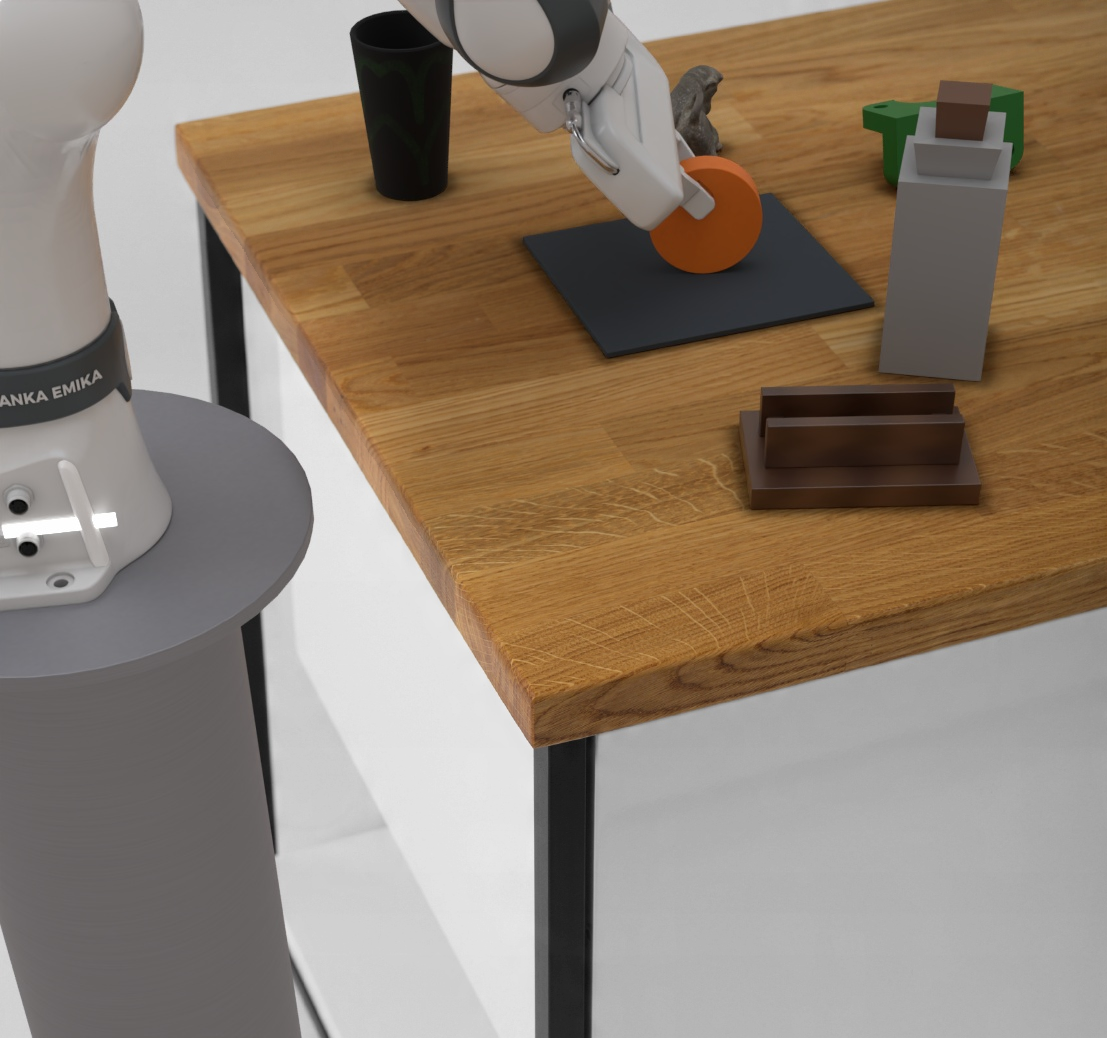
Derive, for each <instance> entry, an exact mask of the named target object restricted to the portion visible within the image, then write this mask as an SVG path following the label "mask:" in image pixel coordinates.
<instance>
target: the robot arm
mask: <svg viewBox="0 0 1107 1038" xmlns="http://www.w3.org/2000/svg"><path fill="white" fill-rule="evenodd" d="M397 1H398V3H399V4H400V5H401V6H402V7H403V8H404V10H407V11H408V12H409V13H410V14H411V15H412V16H413V17H414V18H415V19H416V20H417V21H418V22H419V23H421V24H422V25H423V26H424V27H425V28H426V29H427V30H428V31H429V32H430V33H431V34H432V35H433V36H435V37H436V38H437V39H438V40H439V41H440V42H442V43H443V44H444V45H446V46H448V47H450V48H452V49H453V51H454V50H455V51H456V52H457V53H458V54H459V56H460V57H461V58H462V59H463V60H464V61H465V62H466V63H467V64H468V65H470V66H471V67H472V68H473V69H474V70H475V71H477V73H478V74H479V75H480V77H481V79H482V80H483V82H484V83H485V84H486V85H487V86H488V87H489V88H490V89H491V90H492V91H493V92H494V93H495V94H497V95H498V96H499V97H500V98H501V99H502V100H503V101H504V102H505V103H506V104H507V105H509V107H510V108H512V109H513V110H514V111H515V112H516V113H517V114H519V115H520V116H521V117H522V118H523V120H525V121H526V122H527V123H528V124H529V125H530V126H532V128H534V130H535V131H537V132H538V133H540V134H550V133H552V132H555V131H558V130H559V129H561V128H562V130H563V131H565V132H566V133H567V134H568V135H569V143H570V146H569V147H570V153H571V156H572V158H573V160H574V162H575V164H576V165H577V167H578V168H579V169H580V171H581V172H582V173H583V174H584V175H585V177H586V178H587V179H588V181H590V182H591V183H592V184H593V185H594V186H595V188H597V189H598V190H599V192H600V193H601V194H602V195H603V196H604V197H605V198H606V199H607V200H608V201H609V202H610V204H612V205H613V206H614V207H615V208H616V209H617V210H618V211H619V212H620V213H621V214H622V215H623V216H624V217H625V218H627V219H628V220H630V221H631V222H632V223H633V224H634V225H635V226H637V227H639V228H641V229H643V230H646V231H652V230H653V229H655V228H656V227H657V226H658V225H659V224H660V223H662V222H663V221H664V220H665V219H666V218H667V217H668V216H669V215H670V214H671V213H672V212H673V211H674V210H675V209H676V208H677V207H678V206H681V207H683V208H684V209H685V210H686V211H687V212H688V213H689V214H691V215H692V216H693V217H694V218H695V219H697V220H700V219H703V218H704V217H705V216H706V215H708V214H709V213H710V212H711V211H712V210H713V209H714V207H715V202H714V197H713V193H712V192H711V191H710V190H709V189H708V188H707V187H706V186H705V185H704V184H703V183H702V182H701V181H700V180H698V181H697V182H696V181H695V180H694V179H692V178H691V177H690V176H689V175H687V174H686V173H685V171H684V168H683V167H682V166H681V165H680V163H679V162H681V161H683V160H686V159H689V158H692V157H695V155H694V154H693V152H692V151H691V149H690V148H689V146H688V145H687V143H686V142H685V140H684V139H683V138H682V136H681V135H680V133H679V132H678V131H677V130H676V129H675V126H674V118H673V111H672V103H671V96H670V94H671V89H670V81H669V78H668V76H667V74H666V73H665V71H664V69H663V68H662V67H661V65H660V64H659V62H658V61H657V59H656V58H655V57H654V56H653V55H652V54H651V52H650V51H649V50H648V49H647V47H646V46H645V45H644V44H643V43H642V42H641V40H639V39H638V37H637V36H636V35H635V34H634V33H633V32H632V30H630V28H629V27H628V26H627V25H626V24H625V22H623V21H622V20H621V19H620V18H619V17H618V16H617V15H616V14H615V13H614V10H613V4H612V0H397ZM144 27H145V25H144V19H143V14H142V10H141V6H140V2H139V0H0V612H1V611H11V610H22V609H32V608H42V607H53V606H63V605H73V604H82V603H87V602H90V601H93V600H95V599H96V598H98V597H99V596H100V595H101V594H102V593H103V592H104V591H105V590H106V588H107V587H108V586H109V584H110V583H111V581H112V580H113V578H114V577H115V575H116V574H117V573H118V572H119V571H120V570H121V569H123V568H124V567H125V566H127V565H128V564H130V563H131V562H133V561H134V560H136V559H137V558H139V557H140V556H142V555H143V554H144V553H146V552H147V551H148V550H149V549H150V548H151V547H152V546H153V545H155V544H156V542H157V541H158V540H159V539H160V538H161V537H162V535H163V534H164V532H165V531H166V529H167V527H168V525H169V523H170V520H171V516H172V501H171V497H170V495H169V492H168V491H167V489H166V487H165V485H164V484H163V482H162V480H161V478H160V476H159V474H158V472H157V470H156V469H155V466H154V464H153V462H152V459H151V457H150V455H149V452H148V450H147V447H146V444H145V442H144V439H143V436H142V434H141V431H140V428H139V425H138V422H137V418H136V415H135V412H134V409H133V406H132V402H131V397H132V389H133V386H132V381H133V373H132V366H131V360H130V354H129V349H128V344H127V343H128V342H127V338H126V334H125V333H126V332H125V328H124V324H123V321H122V319H121V318H120V315H119V313H118V310H117V308H116V307H117V306H116V304H115V302H114V300H113V299H112V298H111V297H110V296H109V291H108V286H107V280H106V273H105V267H104V262H103V256H102V250H101V242H100V236H99V230H98V229H99V228H98V224H97V217H96V211H95V210H96V209H95V199H94V198H95V197H94V172H95V171H94V169H95V159H96V151H97V147H98V146H97V145H98V140H99V136H100V132H101V130H102V129H103V127H105V126H106V125H107V124H108V123H109V122H111V121H112V120H113V119H114V118H115V116H117V114H118V113H119V112H120V110H121V109H122V108H123V107H124V105H125V103H126V102H127V101H128V100H129V98H130V96H131V94H132V92H133V90H134V88H135V85H136V83H137V81H138V78H139V75H140V71H141V67H142V64H143V57H144V51H145V28H144Z"/></svg>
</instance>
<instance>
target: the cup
mask: <svg viewBox="0 0 1107 1038" xmlns="http://www.w3.org/2000/svg"><path fill="white" fill-rule="evenodd" d="M348 35H349V40H350V46H351V50H352V56H353V57H352V58H353V61H354V62H353V63H354V67H355V73H356V78H357V79H356V80H357V85H358V92H359V97H360V103H361V109H362V114H363V120H364V125H365V130H366V131H365V132H366V137H367V143H368V148H369V154H370V160H371V165H372V166H371V167H372V172H373V177H374V185H375V188H376V190H377V192H378V193H379V194H380V195H382V196H384V197H386V198H389V199H393V200H397V201H420V200H426V199H430V198H433V197H435V196H438V195H440V194H441V193H443V191H445V189H446V188H447V187H448V180H449V158H450V157H449V156H450V137H451V136H450V135H451V133H450V132H451V113H452V112H451V111H452V110H451V109H452V108H451V107H452V91H453V89H452V86H453V68H454V67H453V64H454V63H453V62H454V49H452V48H450V47H448V46H446V45H444V44H443V43H442V42H440V41H439V40H438V39H437V38H436V37H435V36H433V35H432V34H431V33H430V32H429V31H428V30H427V29H426V28H425V27H424V26H423V25H422V24H421V23H419V22H418V21H417V20H416V19H415V18H414V17H413V16H412V15H411V14H410V13H409V12H408V11H407V10H406V9H395V10H387V11H381V12H378V13H377V12H376V13H374V14H370V15H368V16H365V17H363V18H361V19H360V20H358V21H356V22H355V23H354V25H353V26H352V27H351V28H350V31H349V34H348Z"/></svg>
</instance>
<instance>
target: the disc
mask: <svg viewBox="0 0 1107 1038" xmlns="http://www.w3.org/2000/svg"><path fill="white" fill-rule="evenodd" d="M679 163H680V165H681V166H682V167H683V168H684V171H685V173H686V174H687V175H689V176H690V177H691V178H692V179H694V180H695V181H696V182H697V181H698V180H700V181H701V182H702V183H703V184H704V185H705V186H706V187H707V188H708V189H709V190H710V191H711V192H712V193H713V197H714V202H715V207H714V209H713V210H712V211H711V212H710V213H709V214H708V215H706V216H705V217H704V218H703V219H700V220H697V219H695V218H694V217H693V216H692V215H691V214H689V213H688V212H687V211H686V210H685V209H684V208H683V207H681V206H678V207H677V208H676V209H675V210H674V211H673V212H672V213H671V214H670V215H669V216H668V217H667V218H666V219H665V220H664V221H663V222H662V223H660V224H659V225H658V226H657V227H656V228H655V229H653V230H652V231H649V232H650V237H651V239H652V242H653V244H654V246H655V248H656V250H657V251H658V253H659V254H660V255H661V256H662V257H663V258H664V259H665V260H666V261H667V262H668V263H670V264H671V265H673V266H675V267H676V268H679V269H681V270H684V271H687V272H691V273H700V274H705V273H714V272H718V271H721V270H725V269H727V268H729V267H731V266H733V265H735V264H736V263H738V262H739V261H740V260H742V259H743V258H744V257H745V256H746V255H747V254H748V253H749V252H750V250H751V249H752V248H753V247H754V245H755V243H756V241H757V239H758V237H759V235H760V231H761V227H762V208H761V202H760V197H759V195H760V193H759V190H758V187H757V185H756V183H755V180H754V179H753V177H752V176H751V175H750V174H749V173H748V172H747V171H746V169H744V168H743V167H742V166H741V165H739V164H738V163H736V162H734V161H732V160H730V159H728V158H725V157H721V156H718V157H717V156H697V157H692V158H689V159H686V160H683V161H681V162H679Z"/></svg>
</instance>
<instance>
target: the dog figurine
mask: <svg viewBox="0 0 1107 1038" xmlns="http://www.w3.org/2000/svg"><path fill="white" fill-rule="evenodd" d="M723 80H724V75H723V73H721V72H719V71H718V69H717V68H715V67H713V66H710V65H705V64H700V65H696V66H693V67H691V68H690V69H688V70H687V71H686V72H685V73H683V75H682V76H681V77H680V78H679V82H678V83H677V84H676V85H675V86H674V88H673V89H672V91H670V96H671V103H672V111H673V118H674V126H675V129H676V130H677V131H678V132H679V133H680V135H681V136H682V138H683V139H684V140H685V142H686V143H687V145H688V146H689V148H690V149H691V151H692V152H693V154H694V155H695V157H697V156H717V157H719V156H718V153H717V151H720V150H721V149H722V148H723V144H722V143H721V142H720V139H719V138H720V136H719V132H718V130H717V128H716V127H715V126H714V125H713V124H712V122H711V121H710V119H709V117H708V116H707V115H709V114H710V112H711V111H712V98H713V97H714V95H715V94H717V92H718V85H719V84H720V83H721V82H722V81H723Z"/></svg>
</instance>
